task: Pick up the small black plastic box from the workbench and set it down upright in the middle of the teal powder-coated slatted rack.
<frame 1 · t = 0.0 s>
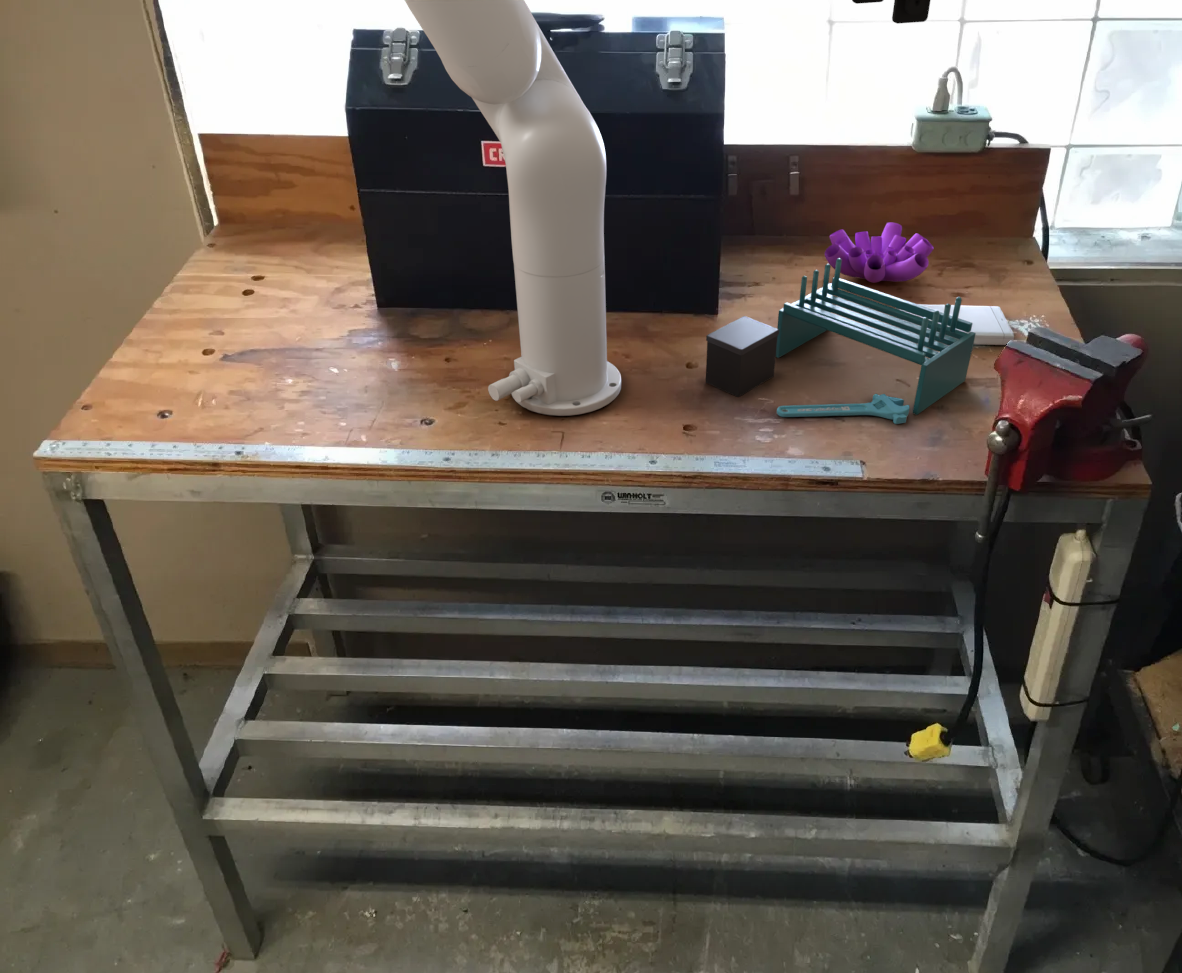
hand: (887, 11, 94), 37 cm above the table, tool pointing down, fingers open, 9 cm apart
adjustable wrench: (841, 414, 106), on the table
purple tubular cluster: (873, 281, 133), on the table
hard drive: (951, 331, 121), on the table
rack: (867, 368, 114), on the table
black box: (739, 379, 112), on the table
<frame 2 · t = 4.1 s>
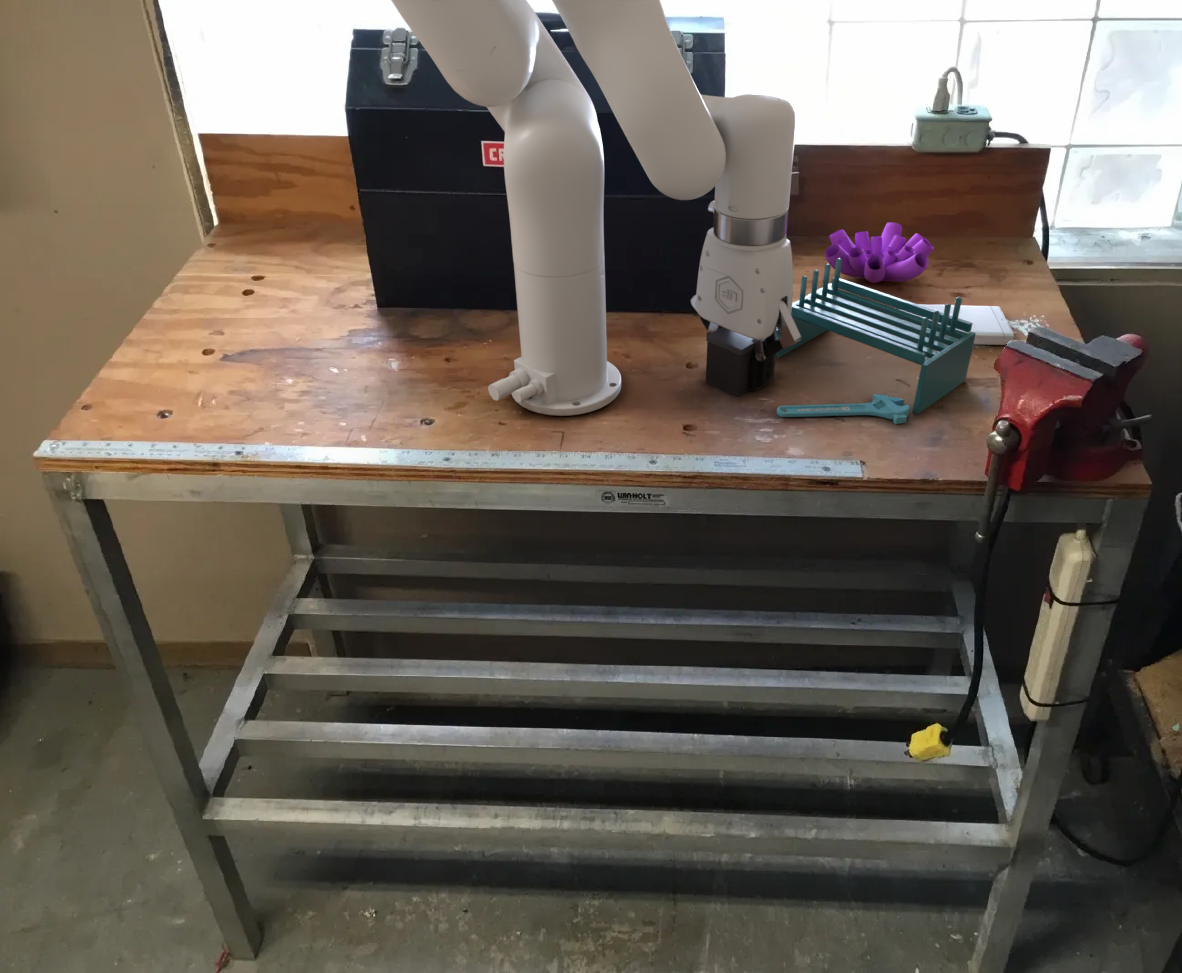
hand: (740, 376, 112), 0 cm above the table, tool pointing down, fingers closed on black box, 4 cm apart
black box: (739, 379, 112), on the table, touching gripper
everything else where it was.
when the fingers open (6 cm above the table, at t = 9.6 s): black box stays where it is, resting on rack.
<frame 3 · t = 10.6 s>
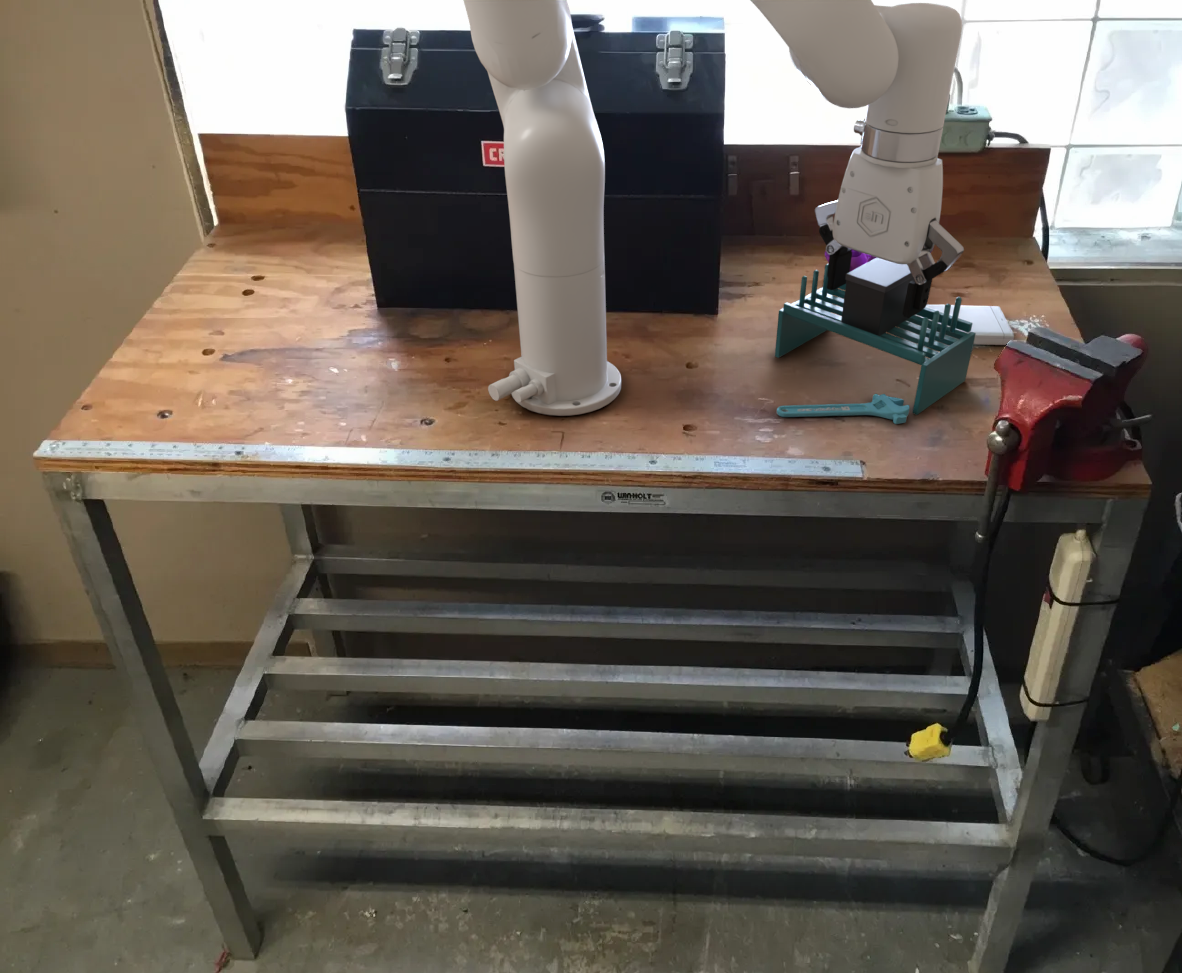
hand: (873, 299, 108), 9 cm above the table, tool pointing down, fingers open, 9 cm apart
black box: (875, 321, 110), point 6 cm above the table, touching rack
everything else where it was.
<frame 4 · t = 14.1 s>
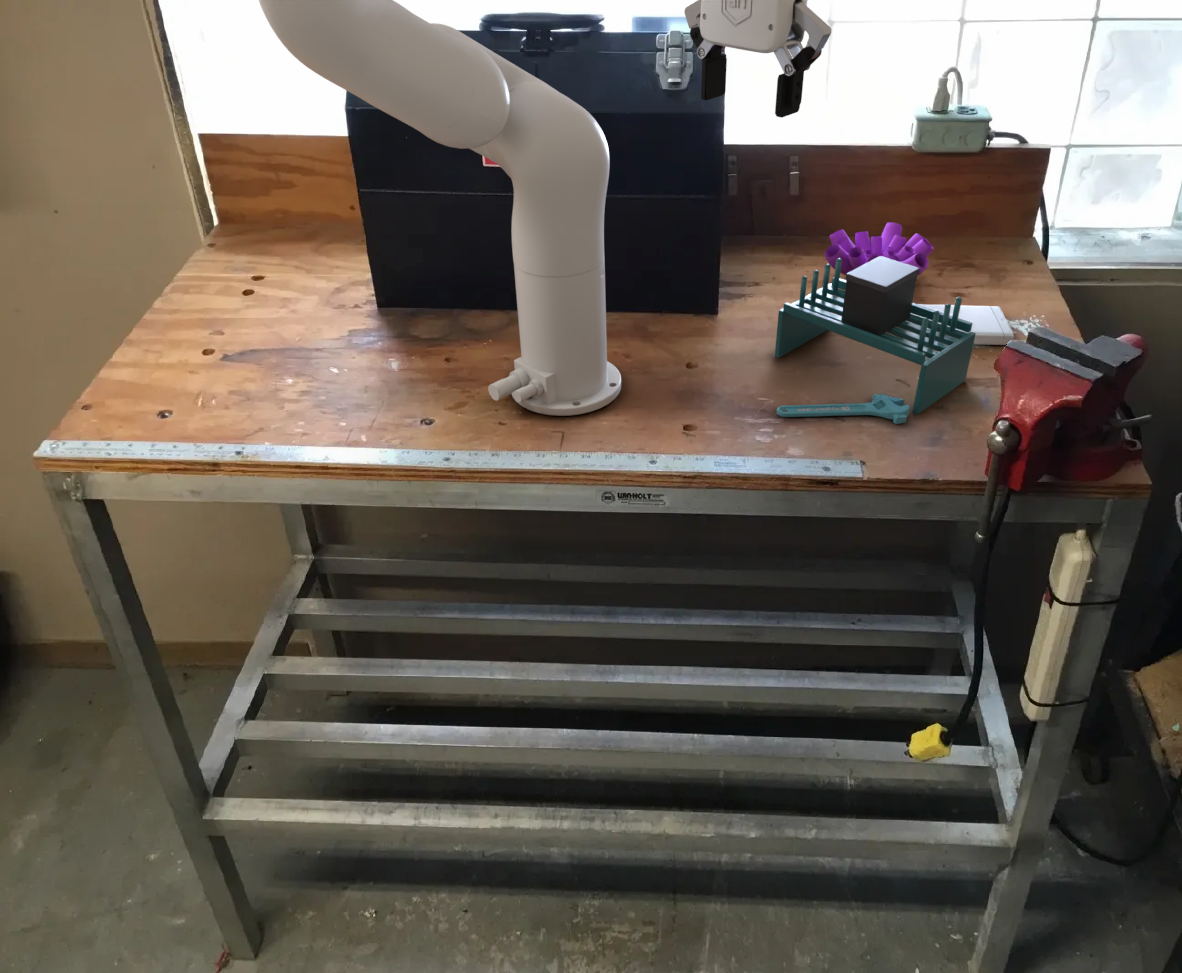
hand: (749, 105, 101), 28 cm above the table, tool pointing down, fingers open, 9 cm apart
nothing on the table moved.
at the end: black box inside the target area on the rack (0.1 cm from its centre), point 6.0 cm above the rack's base; black box tilted 0°; the gripper is holding nothing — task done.
